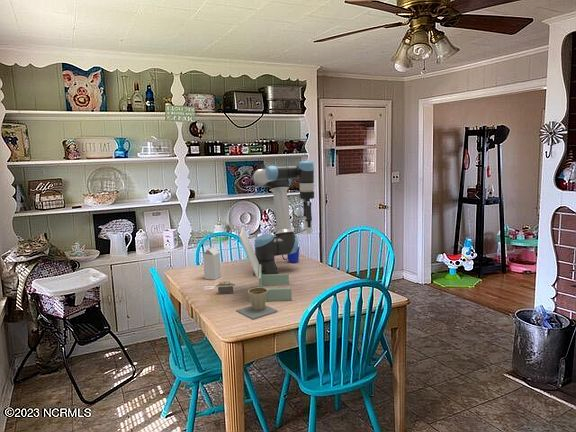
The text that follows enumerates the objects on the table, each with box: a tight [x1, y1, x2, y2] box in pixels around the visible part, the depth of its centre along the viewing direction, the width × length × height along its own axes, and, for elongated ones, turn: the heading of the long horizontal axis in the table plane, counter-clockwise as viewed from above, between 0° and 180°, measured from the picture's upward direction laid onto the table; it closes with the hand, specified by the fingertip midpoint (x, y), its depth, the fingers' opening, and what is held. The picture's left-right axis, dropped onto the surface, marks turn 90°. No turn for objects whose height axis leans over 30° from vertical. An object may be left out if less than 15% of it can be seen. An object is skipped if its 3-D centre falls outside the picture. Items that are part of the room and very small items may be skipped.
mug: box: [281, 246, 300, 264], centre depth 294 cm, size 8×12×10 cm
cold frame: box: [257, 264, 293, 302], centre depth 233 cm, size 16×26×12 cm, turn 3°
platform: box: [215, 280, 236, 295], centre depth 235 cm, size 12×18×7 cm, turn 94°
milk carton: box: [202, 245, 222, 281], centre depth 262 cm, size 7×7×19 cm
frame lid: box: [239, 226, 259, 278], centre depth 230 cm, size 22×26×1 cm
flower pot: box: [247, 287, 268, 310], centre depth 210 cm, size 9×9×9 cm
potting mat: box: [235, 304, 279, 320], centre depth 208 cm, size 14×14×1 cm
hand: (307, 231), depth 234 cm, fingers open, 13 cm apart
